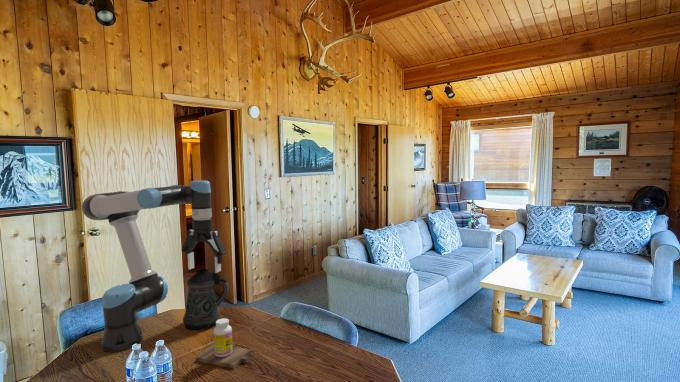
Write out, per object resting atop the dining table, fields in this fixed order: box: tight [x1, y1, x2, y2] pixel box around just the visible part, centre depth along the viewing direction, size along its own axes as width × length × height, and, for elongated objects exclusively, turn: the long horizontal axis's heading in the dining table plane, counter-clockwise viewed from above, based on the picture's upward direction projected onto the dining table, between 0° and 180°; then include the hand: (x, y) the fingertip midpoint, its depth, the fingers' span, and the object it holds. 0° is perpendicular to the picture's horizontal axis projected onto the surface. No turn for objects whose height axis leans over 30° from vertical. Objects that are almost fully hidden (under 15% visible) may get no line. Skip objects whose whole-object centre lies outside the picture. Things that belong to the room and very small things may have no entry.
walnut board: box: [195, 343, 252, 369], centre depth 140 cm, size 19×11×2 cm, turn 70°
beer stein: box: [182, 268, 229, 332], centre depth 171 cm, size 16×19×25 cm
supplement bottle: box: [213, 318, 233, 357], centre depth 140 cm, size 7×7×13 cm
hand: (204, 270), depth 150 cm, fingers open, 13 cm apart
